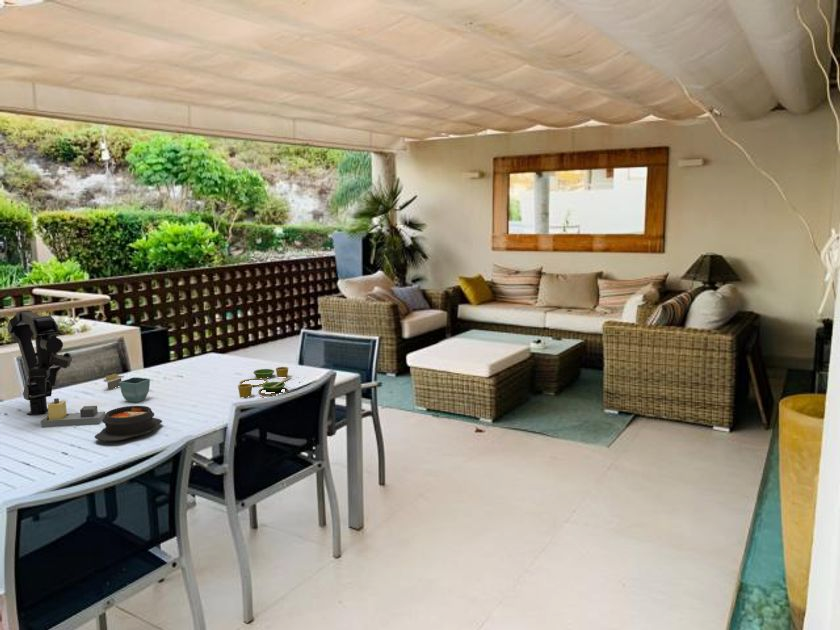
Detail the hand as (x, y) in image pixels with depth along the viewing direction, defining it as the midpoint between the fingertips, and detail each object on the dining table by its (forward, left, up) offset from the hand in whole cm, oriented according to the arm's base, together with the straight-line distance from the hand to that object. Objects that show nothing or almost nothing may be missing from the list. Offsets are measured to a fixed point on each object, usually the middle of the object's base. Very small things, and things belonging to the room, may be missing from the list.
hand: (48, 388), depth 238 cm
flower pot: (-20, +26, -12) cm, 35 cm away
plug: (+6, +4, -12) cm, 14 cm away
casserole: (+23, +34, -12) cm, 43 cm away
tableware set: (-34, +79, -13) cm, 87 cm away
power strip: (+6, +10, -12) cm, 17 cm away
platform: (-43, +11, -13) cm, 46 cm away
